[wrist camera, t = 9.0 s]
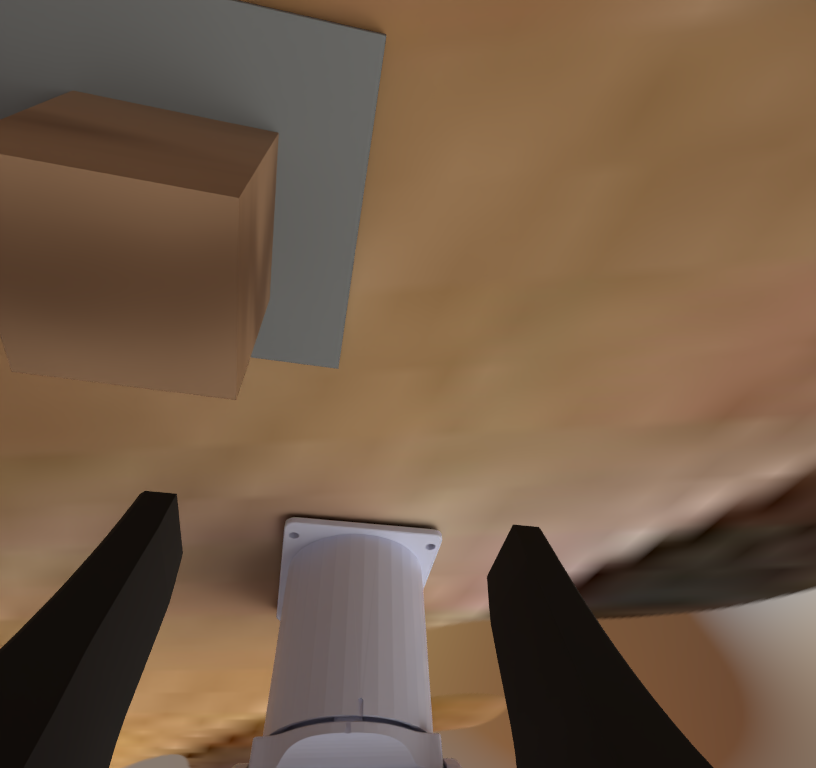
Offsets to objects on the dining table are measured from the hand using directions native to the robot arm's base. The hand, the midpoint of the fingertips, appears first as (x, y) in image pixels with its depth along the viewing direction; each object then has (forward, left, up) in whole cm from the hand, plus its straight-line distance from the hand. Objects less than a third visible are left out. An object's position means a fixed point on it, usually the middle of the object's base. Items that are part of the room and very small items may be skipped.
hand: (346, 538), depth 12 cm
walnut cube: (+3, +6, -10) cm, 12 cm away
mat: (+3, +6, -10) cm, 12 cm away
